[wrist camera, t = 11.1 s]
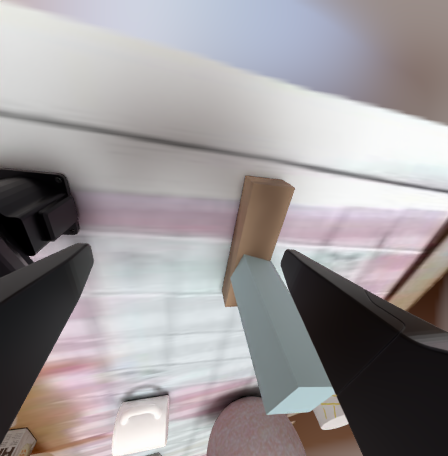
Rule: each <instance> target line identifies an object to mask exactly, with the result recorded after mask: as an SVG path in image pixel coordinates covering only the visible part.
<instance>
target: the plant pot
mask: <svg viewBox="0 0 448 456" xmlns="http://www.w3.org/2000/svg"><path fill="white" fill-rule="evenodd" d="M207 456H306V453H305V450H304V448H303V445H302V443H301V440H300V438H299V436H298V435H297V432H296V430H295V428H294V427H293V425H292V423H291V422H290V421H289V419H288V417H287V416H286V415H285V414H272V415H266V412H265V408H264V405H263V401H262V398H261V397H254V396H251V397H244V398H240V399H238V400H236V401H234V402H232V403H231V404H229V405H228V406H227V407H226V408H225V409H224V410H223V411H222V412H221V414H220V415H219V416H218V418H217V420H216V421H215V423H214V425H213V428H212V431H211V434H210V438H209V442H208V448H207Z"/></svg>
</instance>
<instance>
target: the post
mask: <svg viewBox="0 0 448 456" xmlns="http://www.w3.org/2000/svg"><path fill="white" fill-rule="evenodd" d="M230 279H231V283H232V287H233V291H234V294H235V298H236V302H237V306H238V310H239V313H240V317H241V321H242V325H243V329H244V332H245V336H246V340H247V344H248V348H249V351H250V355H251V359H252V363H253V367H254V370H255V374H256V378H257V382H258V386H259V389H260V393H261V397H262V401H263V405H264V408H265V412H266V415H272V414H286V413H300V412H310V411H311V410H313V409H314V408H316V407H317V406H318V405H320V404H321V403H322V402H324V401H325V400H327V399H328V398H329V397H331V396H332V395H333V394H335V392H334V390H333V387H332V385H331V383H330V381H329V379H328V376H327V374H326V372H325V370H324V367H323V365H322V363H321V361H320V359H319V356H318V354H317V352H316V350H315V348H314V345H313V343H312V341H311V339H310V336H309V334H308V332H307V330H306V328H305V325H304V323H303V321H302V319H301V316H300V314H299V312H298V310H297V308H296V305H295V303H294V301H293V299H292V296H291V294H290V293H289V291H288V289H287V288H286V286H285V284H284V282H283V281H282V279H281V277H280V276H279V274H278V272H277V270H276V269H275V267H274V265H273V264H272V262H271V261H268V260H264V259H260V258H256V257H252V256H249V255H245V254H244V255H243V257H242V258H241V260H240V262H239V264H238V265H237V267H236V269H235V271H234V272H233V274H232V276H231V278H230Z"/></svg>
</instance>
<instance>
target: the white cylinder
mask: <svg viewBox="0 0 448 456" xmlns="http://www.w3.org/2000/svg"><path fill="white" fill-rule="evenodd" d="M313 410H314V413H315V415H316V417H317V419H318V422H319V424H320V426H321V428H322V429H323V430H328V429H334V428H338V427H341V426H344V425H346V424H349V423H348V421H347V419H346V417H345V414H344V412H343V410H342V408H341V406H340V403H339V401H338V399H337V395H336V394H333V395H332V396H331V397H329V398H328V399H327V400H325V401H324V402H322V403H321V404H320V405H318V406H317V407H316V408H314V409H313Z"/></svg>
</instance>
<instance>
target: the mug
mask: <svg viewBox="0 0 448 456" xmlns="http://www.w3.org/2000/svg"><path fill="white" fill-rule="evenodd" d="M168 423H169V395H165V396H158V397H152V398H146V399H139V400H133V401H127V402H123V403H122V404H121V406H120V408H119V411H118V414H117V417H116V421H115V426H114V431H113V437H112V456H122V455H126V454H131V453H136V452H141V451H145V450H150V449H155V448H160V447H165V446H166V443H167V436H168Z"/></svg>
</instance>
